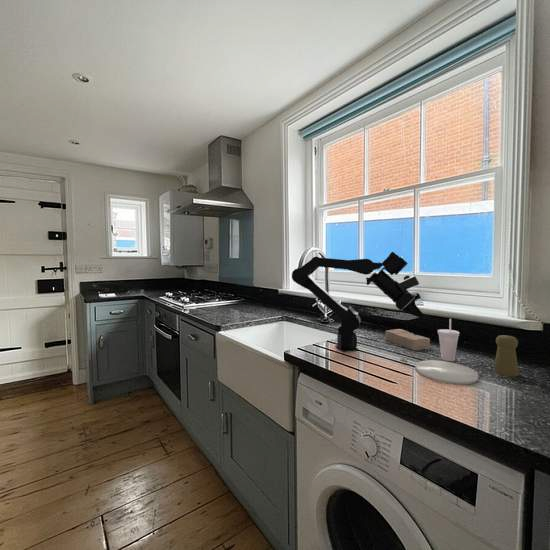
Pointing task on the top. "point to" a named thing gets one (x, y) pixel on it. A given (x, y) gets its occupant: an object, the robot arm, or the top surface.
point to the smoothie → (448, 343)
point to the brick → (407, 339)
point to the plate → (446, 372)
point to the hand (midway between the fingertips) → (421, 315)
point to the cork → (506, 356)
